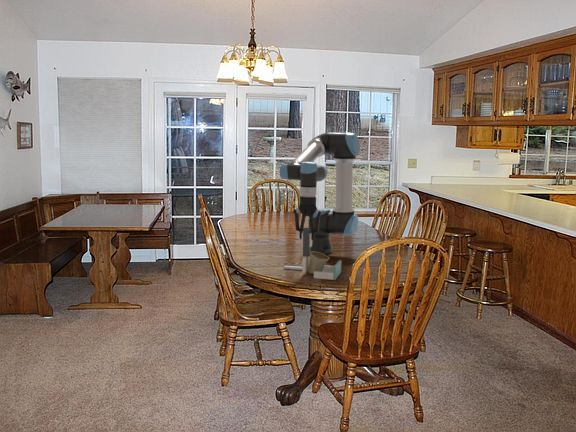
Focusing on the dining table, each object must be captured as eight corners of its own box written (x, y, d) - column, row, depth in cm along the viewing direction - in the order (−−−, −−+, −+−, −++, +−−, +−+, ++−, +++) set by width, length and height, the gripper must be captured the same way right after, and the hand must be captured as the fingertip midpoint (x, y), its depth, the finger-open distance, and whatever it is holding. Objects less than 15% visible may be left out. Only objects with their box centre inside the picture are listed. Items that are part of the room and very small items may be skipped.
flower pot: (319, 278, 278) (325, 260, 277) (301, 270, 282) (306, 253, 280) (326, 274, 287) (331, 257, 285) (308, 266, 290) (313, 250, 288)
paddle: (306, 266, 293) (306, 225, 290) (314, 266, 292) (315, 225, 289) (299, 272, 281) (300, 229, 278) (308, 273, 280) (309, 230, 277)
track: (284, 267, 296) (284, 265, 296) (319, 270, 291) (319, 268, 291) (283, 268, 294) (283, 266, 294) (318, 271, 290) (318, 269, 289)
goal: (320, 271, 291) (320, 258, 290) (340, 272, 288) (341, 260, 287) (313, 278, 277) (314, 265, 277) (335, 279, 275) (335, 266, 274)
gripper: (288, 196, 278) (287, 246, 282) (323, 197, 274) (322, 249, 278) (293, 194, 285) (292, 243, 289) (327, 196, 281) (325, 246, 285)
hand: (306, 246), depth 283 cm, fingers closed on paddle, 3 cm apart
